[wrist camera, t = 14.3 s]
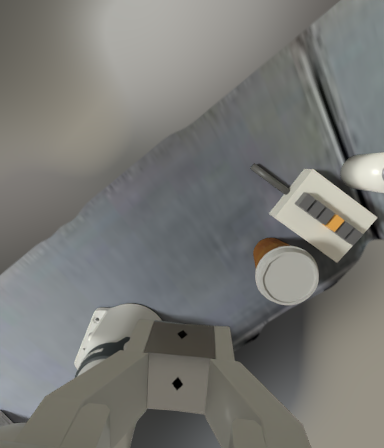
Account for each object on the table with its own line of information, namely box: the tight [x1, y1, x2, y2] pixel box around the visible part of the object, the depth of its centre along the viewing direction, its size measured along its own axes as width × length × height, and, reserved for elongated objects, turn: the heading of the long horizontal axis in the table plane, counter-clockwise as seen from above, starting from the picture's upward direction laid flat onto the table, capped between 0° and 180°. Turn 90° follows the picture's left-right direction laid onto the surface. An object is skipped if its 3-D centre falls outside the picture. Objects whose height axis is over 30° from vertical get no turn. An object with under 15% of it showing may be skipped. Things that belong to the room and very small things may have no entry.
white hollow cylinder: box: [340, 152, 384, 193], centre depth 42 cm, size 6×6×9 cm
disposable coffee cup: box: [253, 238, 319, 305], centre depth 45 cm, size 10×10×12 cm
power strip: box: [250, 163, 377, 263], centre depth 45 cm, size 10×22×6 cm, turn 55°
